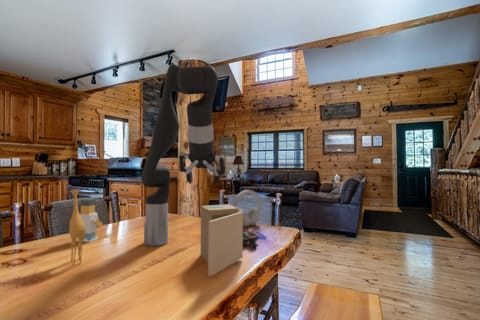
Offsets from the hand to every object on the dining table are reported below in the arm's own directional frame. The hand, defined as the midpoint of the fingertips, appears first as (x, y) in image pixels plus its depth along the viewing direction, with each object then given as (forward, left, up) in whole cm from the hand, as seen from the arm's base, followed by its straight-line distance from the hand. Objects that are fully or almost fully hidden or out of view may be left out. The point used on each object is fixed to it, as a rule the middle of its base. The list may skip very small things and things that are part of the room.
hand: (203, 183), depth 84 cm
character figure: (-49, +40, -28) cm, 69 cm away
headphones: (+26, +56, -28) cm, 68 cm away
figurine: (+17, +30, -28) cm, 45 cm away
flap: (+8, -1, -27) cm, 28 cm away
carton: (+6, +10, -28) cm, 30 cm away
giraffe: (-44, +15, -28) cm, 54 cm away
